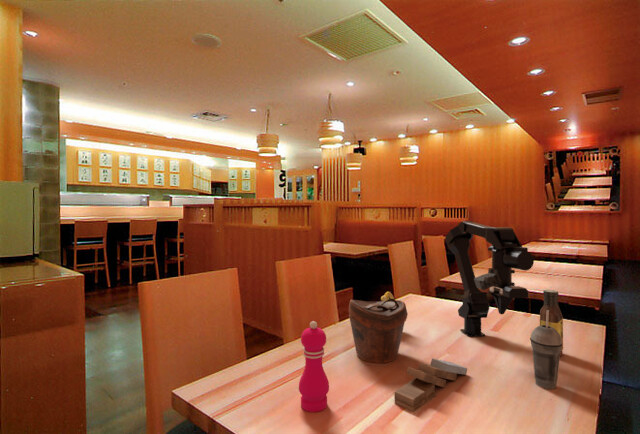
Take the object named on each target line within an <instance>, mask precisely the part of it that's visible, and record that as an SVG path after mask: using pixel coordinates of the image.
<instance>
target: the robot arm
mask: <svg viewBox="0 0 640 434" xmlns="http://www.w3.org/2000/svg"><path fill="white" fill-rule="evenodd" d="M474 236H477V237H480V238H483V239H484V240H485V241H486V242H487V243H488V244H490V246H489V247H488V248H487V251H490V252H491V267H489V268H488V270H487V271H488V273H487V272H486V273H483V274H481V275H478V276H475V271H474V269H473V264H472V262H471V258H470V255H469V249H470V248H471V240H472V239H473V237H474ZM444 240H445V243H446V246H447V247H448V250H449V251H450V252H451V253H452V254H453V255H454V258H455V261H456V265H457V269H458V272H459V277H460V279H461V283H462V287H463V288H462V289H463V291H464V293H463V295H462V299H461V301H462V305H460V307H459V308H458V309H457V313H458V317H461V318H462V319H463V321H464V323H463V328H461V329H460V330H459V331H461V332H462V333H463V334H464V335H466V336H467V337H485V336H486V334H485V333H484V332H482V319H486V318H488V314H489V311H490V302H489V299H488V295H487V293H488V294H491V296H492V297H493V299H494V302H495V306H496V307H497V310H498V314H500V315H504V314H505V313H506V311H507V309H508V308H509V306H510V305H511V302H512V301H513V300H514V299H528V298H529V297H530V291H529V290H528V289H527V288H525V287H523V286H520V285H517V286H516V285H515V282H513V281H512V278H513V277H512V275H513V274H515V273H516V270H519V271H525V272H526V271H528V270H531V269H532V268H533V266H534V262H535V260H534V257H533V255H532V253H531V252H529V249H528V247H524V246H523V245H522V242H520V240H519V237H518V236H517V234H516V233H515V231H514V229H513V227H508V226H502V227H499V226H496V227H495V226H494V227H493V226H490V225H485V224H482V223H479V222H474V221H472V220H469V221H468V220H465V221H460V222H459V224H457V225H456V226H455V227H452V228H451V229H450V230H449V231H448V232H447V233H446V235H445V238H444ZM481 290H482V291H481ZM485 290H487V293H486V292H485Z"/></svg>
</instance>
